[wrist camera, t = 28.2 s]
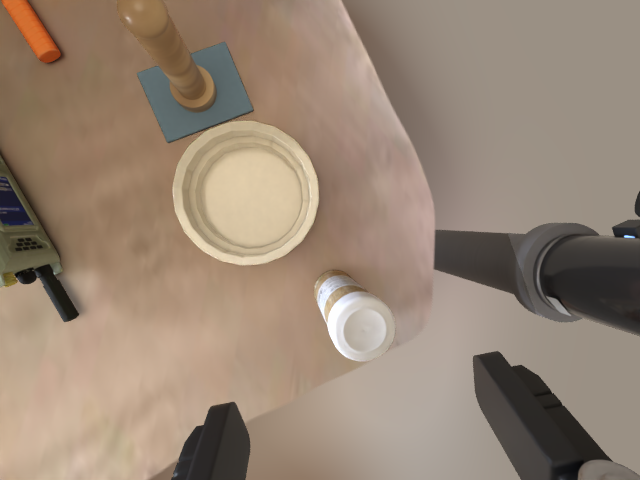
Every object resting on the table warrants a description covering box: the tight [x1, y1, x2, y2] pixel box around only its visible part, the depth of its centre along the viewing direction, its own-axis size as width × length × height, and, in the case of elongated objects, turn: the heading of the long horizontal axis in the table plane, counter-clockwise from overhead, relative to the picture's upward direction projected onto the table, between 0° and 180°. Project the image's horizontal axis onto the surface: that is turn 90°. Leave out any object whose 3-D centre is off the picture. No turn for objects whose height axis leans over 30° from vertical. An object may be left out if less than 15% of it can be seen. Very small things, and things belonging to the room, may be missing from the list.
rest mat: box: [137, 42, 253, 143], centre depth 33 cm, size 9×7×1 cm
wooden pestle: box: [117, 0, 217, 113], centre depth 26 cm, size 4×4×14 cm
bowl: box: [172, 121, 319, 266], centre depth 32 cm, size 13×13×5 cm
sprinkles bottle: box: [314, 270, 396, 361], centre depth 29 cm, size 5×5×13 cm
